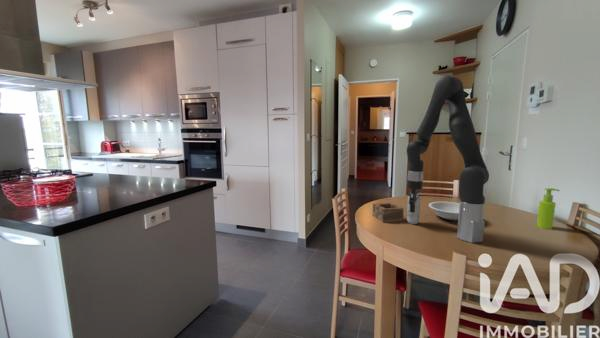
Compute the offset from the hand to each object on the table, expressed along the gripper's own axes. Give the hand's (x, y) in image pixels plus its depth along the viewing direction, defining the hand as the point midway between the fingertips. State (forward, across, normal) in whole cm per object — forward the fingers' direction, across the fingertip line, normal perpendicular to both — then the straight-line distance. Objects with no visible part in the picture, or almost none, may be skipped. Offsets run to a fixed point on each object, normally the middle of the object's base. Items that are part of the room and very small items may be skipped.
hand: (413, 210), depth 140 cm
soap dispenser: (+7, +30, -58) cm, 65 cm away
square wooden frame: (+7, +1, +14) cm, 15 cm away
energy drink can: (+7, 0, 0) cm, 7 cm away
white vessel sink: (+7, +20, -17) cm, 27 cm away
